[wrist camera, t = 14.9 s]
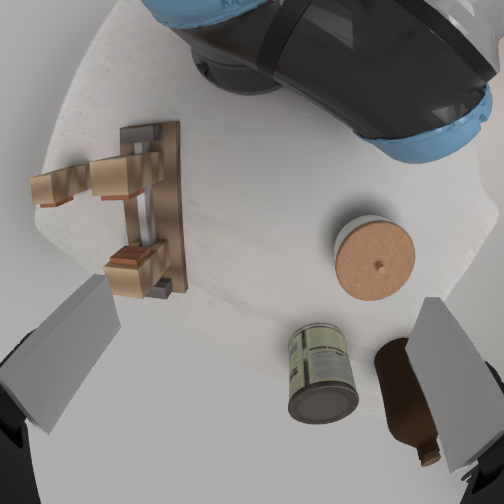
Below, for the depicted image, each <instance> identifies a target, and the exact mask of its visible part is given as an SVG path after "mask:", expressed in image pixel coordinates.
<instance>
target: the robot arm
mask: <svg viewBox="0 0 504 504" xmlns="http://www.w3.org/2000/svg"><path fill="white" fill-rule="evenodd" d="M142 2H143V4H144V5H145V6H146V7H147V8H148V9H149V10H150V12H151V13H152V14H153V17H154V18H155V19H156V20H157V21H158V22H160V23H162V24H163V25H164V26H167V27H169V28H170V29H171V30H172V31H174V32H175V33H176V34H177V35H178V36H180V37H181V38H182V39H183V40H184V41H186V42H187V43H188V44H189V45H190V46H191V52H192V57H193V60H194V63H195V65H196V67H197V68H198V70H199V71H200V73H201V74H202V75H203V76H204V77H205V78H206V79H207V80H209V81H210V82H211V83H213V84H214V85H215V86H217V87H219V88H221V89H223V90H225V91H228V92H231V93H235V94H240V95H258V94H264V93H268V92H271V91H274V90H277V89H279V88H281V87H283V86H286V87H288V88H290V89H291V90H293V91H295V92H296V93H298V94H300V95H302V96H303V97H305V98H306V99H308V100H310V101H311V102H313V103H314V104H316V105H318V106H319V107H321V108H322V109H324V110H325V111H327V112H328V113H330V114H331V115H333V116H334V117H336V118H337V119H339V120H340V121H342V122H343V123H344V124H346V125H347V126H349V127H350V128H351V129H353V132H354V133H355V134H356V135H357V136H358V137H359V138H360V139H362V140H364V141H367V142H369V143H372V144H373V145H374V146H376V147H377V148H379V149H380V150H381V151H383V152H384V153H385V154H387V155H388V156H389V157H391V158H393V159H395V160H398V161H401V162H404V163H409V164H422V163H428V162H432V161H436V160H439V159H441V158H444V157H446V156H448V155H450V154H452V153H454V152H456V151H457V150H459V149H460V148H462V147H463V146H465V145H466V144H467V143H468V142H470V141H471V140H472V139H473V138H474V137H475V136H476V135H477V134H478V133H479V131H480V130H481V126H480V123H482V122H484V121H487V120H488V118H489V116H490V113H491V110H492V94H491V92H490V87H489V85H488V83H487V82H488V81H489V80H490V79H492V78H493V77H494V76H495V75H496V74H497V73H499V72H500V64H499V52H498V44H499V40H500V39H501V38H502V37H503V36H504V0H142ZM120 328H121V325H120V322H119V318H118V315H117V311H116V307H115V304H114V300H113V296H112V292H111V287H110V283H109V279H108V276H105V275H97V274H94V275H93V276H92V277H91V278H89V279H88V280H87V281H86V282H85V283H84V284H83V285H82V286H81V287H80V288H78V289H77V290H76V291H75V292H74V293H73V294H72V295H71V296H70V297H69V298H67V299H66V300H65V301H64V302H63V303H62V304H61V305H60V306H59V307H58V308H57V309H56V310H55V311H54V312H53V313H52V314H51V315H50V316H49V317H48V318H47V319H46V320H45V321H44V322H43V323H42V324H41V325H40V326H39V327H38V328H36V329H35V330H33V331H31V332H30V333H28V334H27V335H26V336H25V337H24V338H23V339H22V340H21V341H20V344H17V346H16V347H15V348H14V350H12V351H11V352H10V353H9V354H8V355H7V357H6V358H5V359H4V360H3V361H2V362H1V363H0V504H41V501H40V498H39V494H38V490H37V485H36V481H35V476H34V471H33V466H32V460H31V453H30V446H29V437H28V429H27V425H26V423H25V422H24V421H25V419H26V418H27V419H28V420H29V421H30V422H31V423H32V424H33V425H34V427H36V428H37V429H39V430H41V431H42V432H44V433H45V434H47V435H49V434H50V432H51V431H52V429H53V428H54V426H55V424H56V423H57V421H58V419H59V418H60V416H61V415H62V413H63V411H64V409H65V408H66V407H67V405H68V403H69V402H70V400H71V399H72V397H73V396H74V394H75V393H76V391H77V390H78V388H79V387H80V385H81V383H82V382H83V381H84V379H85V378H86V376H87V375H88V373H89V372H90V370H91V369H92V367H93V366H94V364H95V363H96V362H97V360H98V358H99V357H100V356H101V354H102V353H103V352H104V350H105V349H106V347H107V346H108V345H109V343H110V342H111V340H112V339H113V338H114V336H115V335H116V334H117V332H118V331H119V330H120ZM405 350H406V352H407V354H408V356H409V359H410V361H411V363H412V366H413V368H414V370H415V373H416V375H417V378H418V380H419V382H420V385H421V387H422V390H423V392H424V395H425V398H426V400H427V403H428V406H429V408H430V411H431V414H432V417H433V419H434V422H435V425H436V428H437V431H438V434H439V437H440V440H441V444H442V447H443V450H444V453H445V457H446V460H447V464H448V467H449V471H450V474H452V473H455V472H457V471H460V470H462V469H465V468H467V467H468V466H469V465H471V463H473V462H474V461H475V460H478V463H479V464H478V465H476V466H475V467H474V468H473V469H471V470H470V471H469V472H467V473H466V474H465V475H464V476H463V477H462V479H461V480H462V481H464V480H465V479H466V478H467V477H469V476H470V475H472V476H471V478H469V479H468V480H467V481H466V482H467V483H469V484H468V486H467V489H466V491H465V493H464V496H463V498H462V500H461V502H460V504H504V383H503V382H501V378H500V376H499V375H498V374H497V371H496V370H495V369H494V368H493V367H492V366H491V365H490V364H489V363H488V362H487V361H486V362H484V360H483V359H482V357H481V356H480V354H479V353H478V351H477V349H476V348H475V347H474V345H473V343H472V342H471V340H470V339H469V337H468V336H467V335H466V333H465V332H464V330H463V329H462V327H461V326H460V325H459V323H458V322H457V320H456V319H455V318H454V316H453V315H452V314H451V312H450V311H449V310H448V308H447V307H446V306H445V304H444V303H443V302H442V300H441V299H440V298H439V297H425V299H424V302H423V305H422V308H421V310H420V313H419V316H418V318H417V321H416V323H415V326H414V328H413V331H412V333H411V336H410V338H409V340H408V343H407V345H406V347H405Z"/></svg>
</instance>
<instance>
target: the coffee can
mask: <svg viewBox="0 0 504 504" xmlns="http://www.w3.org/2000/svg"><path fill="white" fill-rule="evenodd" d="M358 403H359V397H358V393H357V392H356V387H355V382H354V378H353V373H352V369H351V365H350V360H349V356H348V352H347V348H346V344H345V339H344V335H343V334H342V332H341V331H340V330H339V329H338V328H336V327H334V326H332V325H329V324H312V325H308V326H305V327H303V328H301V329H300V330H298V331H297V332H296V333H295V334H294V335H293V336H292V338H291V340H290V342H289V404H288V412H289V414H290V415H291V417H293V418H294V419H295V420H297V421H299V422H303V423H307V424H327V423H332V422H335V421H338V420H340V419H343V418H345V417H346V416H348V415H349V414H351V413H352V412H353V411H354V410H355V409H356V407H357V406H358Z"/></svg>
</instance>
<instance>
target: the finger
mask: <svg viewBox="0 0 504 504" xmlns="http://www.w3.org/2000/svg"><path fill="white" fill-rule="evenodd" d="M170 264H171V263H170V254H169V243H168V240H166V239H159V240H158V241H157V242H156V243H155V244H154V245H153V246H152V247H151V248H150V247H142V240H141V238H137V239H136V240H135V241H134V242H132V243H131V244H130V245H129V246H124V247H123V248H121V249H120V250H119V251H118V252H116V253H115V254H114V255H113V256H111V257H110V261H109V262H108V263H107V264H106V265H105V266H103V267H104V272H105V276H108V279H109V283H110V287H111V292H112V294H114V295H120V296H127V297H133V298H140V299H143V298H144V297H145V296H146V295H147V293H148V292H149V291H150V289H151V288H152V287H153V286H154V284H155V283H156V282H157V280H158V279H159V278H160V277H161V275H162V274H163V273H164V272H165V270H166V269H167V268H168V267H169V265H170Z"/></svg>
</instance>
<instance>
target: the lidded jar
mask: <svg viewBox="0 0 504 504" xmlns="http://www.w3.org/2000/svg"><path fill="white" fill-rule="evenodd" d="M333 255H334V265H335V269H336V275H337V278H338V280H339V283H340V285H341V286H342V288H343V289H344V290H345V291H346V292H347V293H348V294H349V295H351V296H353V297H355V298H357V299H360V300H365V301H374V300H380V299H383V298H386V297H388V296H390V295H392V294H393V293H395V292H396V291H398V290H399V289H400V288H401V287H402V286H403V285H404V284H405V282H406V281H407V280H408V278H409V276H410V275H411V272H412V270H413V267H414V263H415V249H414V244H413V242H412V239H411V238H410V236H409V235H408V234H407V232H406V231H405V230H404V229H402V228H401V227H400V226H398V225H397V224H395V223H393V222H392V221H390V220H388V219H386V218H384V217H381V216H376V215H365V216H360V217H358V218H355V219H353V220H352V221H350V222H349V223H348V224H346V225H345V226H344V228H343V229H342V230H341V231H340V233H339V234H338V236H337V239H336V241H335V245H334V252H333Z"/></svg>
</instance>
